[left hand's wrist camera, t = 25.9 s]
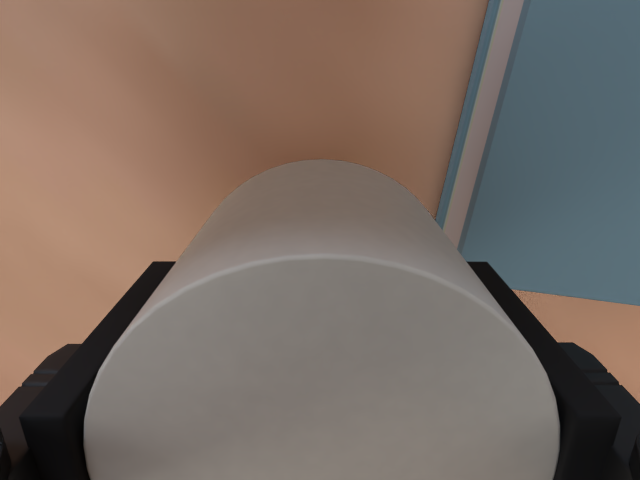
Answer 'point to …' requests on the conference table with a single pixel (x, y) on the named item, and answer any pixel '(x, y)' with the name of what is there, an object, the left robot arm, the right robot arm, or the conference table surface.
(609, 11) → the book
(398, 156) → the conference table surface
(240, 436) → the canister
